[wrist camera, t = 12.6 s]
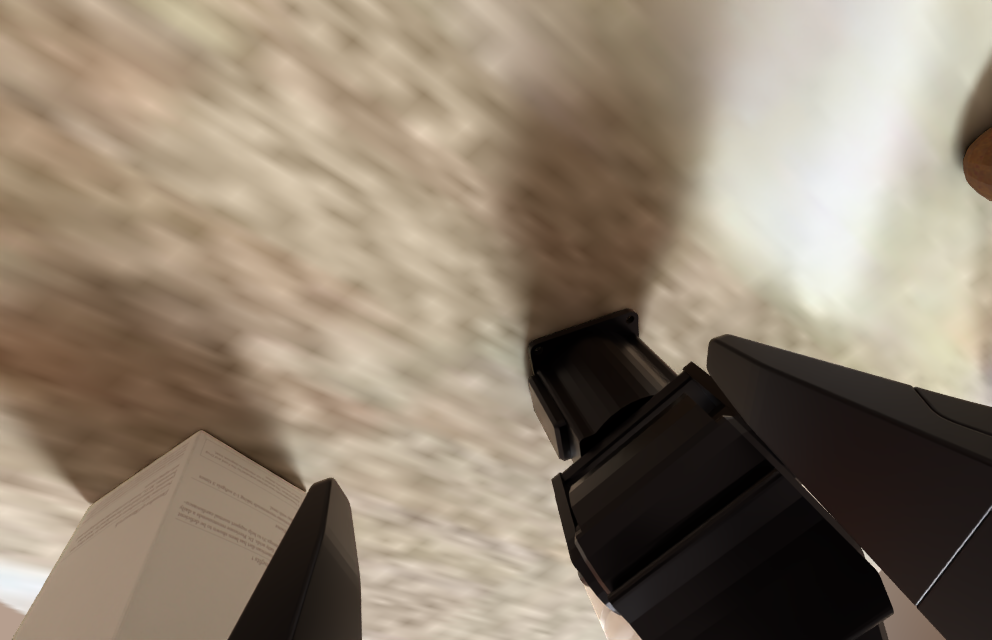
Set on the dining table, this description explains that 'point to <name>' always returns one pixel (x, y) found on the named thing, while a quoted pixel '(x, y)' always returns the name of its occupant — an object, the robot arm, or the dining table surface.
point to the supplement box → (168, 551)
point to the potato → (980, 164)
